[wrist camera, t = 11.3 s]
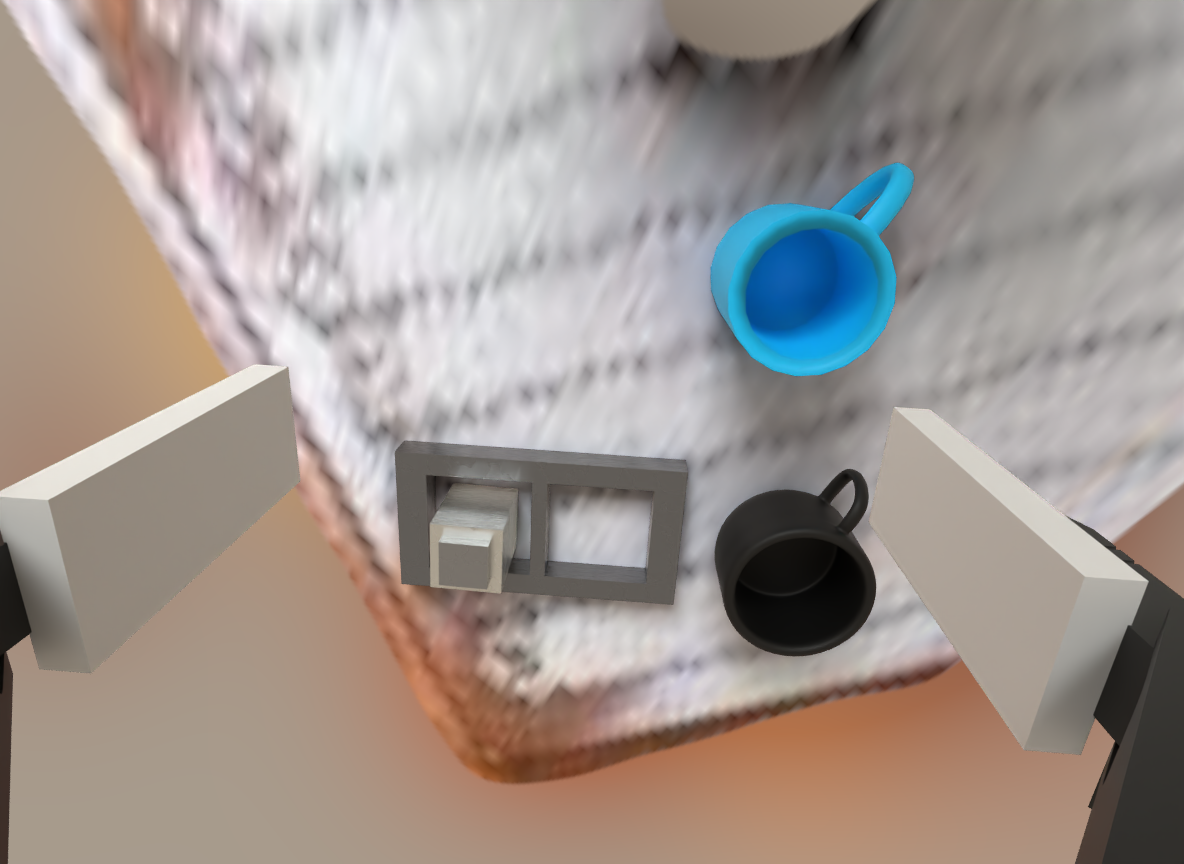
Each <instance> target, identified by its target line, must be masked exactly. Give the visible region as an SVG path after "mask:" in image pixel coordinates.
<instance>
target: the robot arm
mask: <svg viewBox="0 0 1184 864" xmlns="http://www.w3.org/2000/svg"><path fill="white" fill-rule="evenodd" d="M299 482H300V474H299V465H298V455H297V446H296V436H295V427H294V417H293V408H292V398H291V389H290V379H289V370H288V367H284V366H269V365H252V366H250V367H248V368H246V369H244V370H242V371H240V372H238V373H236V374H234V375H232V376H230V377H228V378H226V379H224V380H222V381H220V382H218V383H216V384H214V385H212V386H210V387H208V388H206V389H204V390H202V391H200V392H198V393H196V394H194V395H192V396H190V397H188V398H186V399H184V400H182V401H180V402H178V403H176V404H174V405H172V406H170V407H168V408H166V409H164V410H162V411H160V412H158V413H156V414H154V415H152V416H150V417H148V418H146V419H144V420H142V421H140V422H138V423H136V424H134V425H132V426H130V427H128V428H126V429H124V430H122V431H120V432H118V433H116V434H114V435H112V436H110V437H108V438H106V439H104V440H102V441H100V442H98V443H96V444H94V445H92V446H90V447H88V448H86V449H84V450H82V451H80V452H78V453H76V454H74V455H72V456H70V457H68V458H66V459H64V460H62V461H60V462H58V463H56V464H54V465H52V466H50V467H48V468H46V469H44V470H42V471H40V472H38V473H36V474H34V475H32V476H30V477H28V478H26V479H24V480H22V481H20V482H18V483H16V484H14V485H12V486H10V487H8V488H6V489H4V490H2V491H0V864H8V837H9V799H10V763H11V725H12V689H13V673H12V669H11V666H10V662H9V659H8V656H7V653H6V651H7V650H9V649H10V648H12V647H13V646H14V645H16V644H17V643H18V642H19V641H21V640H22V639H23V638H25V637H26V636H27V635H29V634H30V637H31V641H32V645H33V648H34V652H35V655H36V659H37V662H38V666H39V669H44V670H56V671H69V672H80V673H92V672H93V671H94V670H95V669H96V668H98V667H99V666H100V665H101V664H102V663H103V662H104V661H105V660H106V659H107V658H109V657H110V655H112V654H113V653H114V652H115V651H116V650H117V649H118V648H119V647H120V646H122V645H123V644H124V643H125V642H126V641H127V640H128V639H129V638H130V637H131V636H132V635H133V634H135V633H136V632H137V631H138V630H139V629H140V628H141V627H142V626H143V625H144V624H145V623H147V622H148V621H149V620H150V619H151V618H152V617H153V616H154V615H155V614H156V613H157V612H158V611H160V610H161V609H162V608H163V607H164V606H165V605H166V604H167V603H168V602H169V601H170V600H172V599H173V598H174V597H175V596H176V595H177V594H178V593H179V592H180V591H181V590H182V589H183V588H185V587H186V586H187V585H188V584H189V583H190V582H191V581H192V580H193V579H194V578H195V577H196V576H197V575H199V574H200V573H201V572H202V571H203V570H204V569H205V568H206V567H207V566H209V564H211V563H212V562H213V561H214V560H215V559H216V558H217V557H218V556H219V555H220V554H222V553H223V552H224V551H225V550H226V549H227V548H228V547H229V546H230V545H231V544H232V543H233V542H235V541H236V540H237V539H238V538H239V537H240V536H241V535H242V534H243V533H244V532H245V531H247V530H248V529H249V528H250V527H251V526H252V525H253V524H254V523H255V522H256V521H257V520H258V519H260V518H261V517H262V516H263V515H264V514H265V513H266V512H267V511H268V510H269V509H271V508H272V507H273V506H274V505H275V504H276V503H277V502H278V501H279V500H280V499H281V498H282V497H283V496H285V495H286V494H287V493H288V492H289V491H290V490H291V489H292V488H293V487H294V486H296V485H297V484H298V483H299ZM869 524H870V525H871V526H872V528H873V529H874V531H875V532H876V534H877V535H878V537H879V538H880V540H881V541H882V543H883V544H884V546H885V547H886V548H887V550H888V551H889V553H890V554H891V556H892V557H893V559H894V560H895V562H896V563H897V565H898V566H899V568H900V569H901V571H902V572H903V573H904V575H905V576H906V578H907V579H908V581H909V582H910V584H911V585H912V587H913V588H914V590H915V591H916V593H917V594H918V596H919V597H920V598H921V600H922V601H923V603H924V604H925V606H926V607H927V609H928V610H929V612H930V613H931V615H932V616H933V618H934V619H935V620H936V622H937V623H938V625H939V626H940V628H941V629H942V631H943V632H944V634H945V635H946V637H947V638H948V640H949V641H950V643H951V644H952V645H953V647H954V648H955V650H956V651H957V653H958V654H959V656H960V657H961V659H962V660H963V662H964V663H965V665H966V666H967V667H968V669H969V670H970V672H971V673H972V675H973V676H974V678H975V679H976V681H977V682H978V684H979V685H980V687H981V688H982V690H983V691H984V692H985V694H986V695H987V697H988V698H989V700H990V701H991V703H992V704H993V706H994V707H995V709H996V710H997V712H998V713H999V715H1000V716H1001V717H1002V719H1003V720H1004V722H1005V723H1006V725H1007V726H1008V728H1009V729H1010V730H1011V732H1012V734H1013V735H1014V737H1015V738H1016V739H1017V741H1018V742H1019V744H1020V745H1021V747H1022V748H1023V750H1028V751H1041V752H1052V753H1065V754H1076V755H1081V753H1082V751H1083V748H1084V746H1085V743H1086V740H1087V738H1088V735H1089V732H1090V730H1091V727H1092V725H1093V722H1094V719H1095V718H1096V719H1097V720H1098V721H1099V723H1100V724H1101V725H1102V726H1103V727H1104V729H1105V730H1106V731H1107V732H1108V733H1109V734H1110V736H1111V737H1112V738H1113V739H1114V740H1115V743H1114V745H1113V748H1112V750H1111V752H1110V755H1109V757H1108V760H1107V762H1106V765H1105V767H1104V769H1103V772H1102V774H1101V777H1100V779H1099V782H1098V784H1097V787H1096V789H1095V791H1094V794H1093V796H1092V799H1091V801H1090V804H1089V806H1088V807H1089V808H1091V809H1092V810H1091V814H1090V817H1089V820H1088V823H1087V826H1086V830H1085V833H1084V837H1083V839H1082V843H1081V846H1080V849H1079V852H1078V856H1077V859H1076V862H1075V864H1184V599H1183V598H1182V597H1181V596H1180V595H1178V594H1177V593H1175V592H1174V591H1173V590H1172V589H1170V588H1169V587H1168V586H1166V585H1165V584H1164V583H1163V582H1161V581H1160V580H1158V579H1157V578H1156V577H1155V576H1153V575H1152V574H1151V573H1150V572H1148V571H1147V570H1146V569H1144V568H1143V567H1142V566H1140V565H1138V564H1134V560H1133V559H1131V558H1130V557H1129V556H1127V555H1126V554H1125V553H1124V552H1122V551H1121V550H1116V546H1114V545H1113V544H1112V543H1110V542H1109V541H1108V540H1107V539H1105V538H1104V537H1103V536H1101V535H1100V534H1099V533H1097V532H1096V531H1095V530H1093V529H1091V528H1089V527H1087V526H1085V525H1083V524H1081V523H1079V522H1077V521H1075V520H1073V519H1071V518H1069V517H1067V516H1065V515H1064V514H1062V513H1061V512H1060V511H1058V510H1057V509H1056V508H1055V507H1053V506H1052V505H1051V504H1050V503H1048V502H1047V501H1046V500H1044V499H1043V498H1042V497H1041V496H1039V495H1038V494H1037V493H1036V492H1034V491H1033V490H1032V489H1030V488H1029V487H1028V486H1027V485H1025V484H1024V483H1023V482H1022V481H1020V480H1019V479H1018V478H1016V477H1015V476H1014V475H1013V474H1011V473H1010V472H1009V471H1008V470H1006V469H1005V468H1004V467H1003V466H1001V465H1000V464H999V463H997V462H996V461H995V460H994V459H992V458H991V457H990V456H989V455H987V454H986V453H985V452H983V451H982V450H981V449H980V448H978V447H977V446H976V445H975V444H973V443H972V442H971V441H969V440H968V439H967V438H966V437H964V436H963V435H962V434H961V433H959V432H958V431H957V430H955V429H954V428H953V427H952V426H950V425H949V424H948V423H947V422H945V421H944V420H943V419H942V418H940V417H939V416H938V415H936V414H935V413H934V412H933V411H931V410H930V409H916V408H901V407H893V412H892V417H891V421H890V426H889V430H888V435H887V440H886V444H885V449H884V453H883V458H882V463H881V467H880V472H879V476H878V481H877V486H876V490H875V495H874V499H873V504H872V509H871V513H870V518H869Z"/></svg>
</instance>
